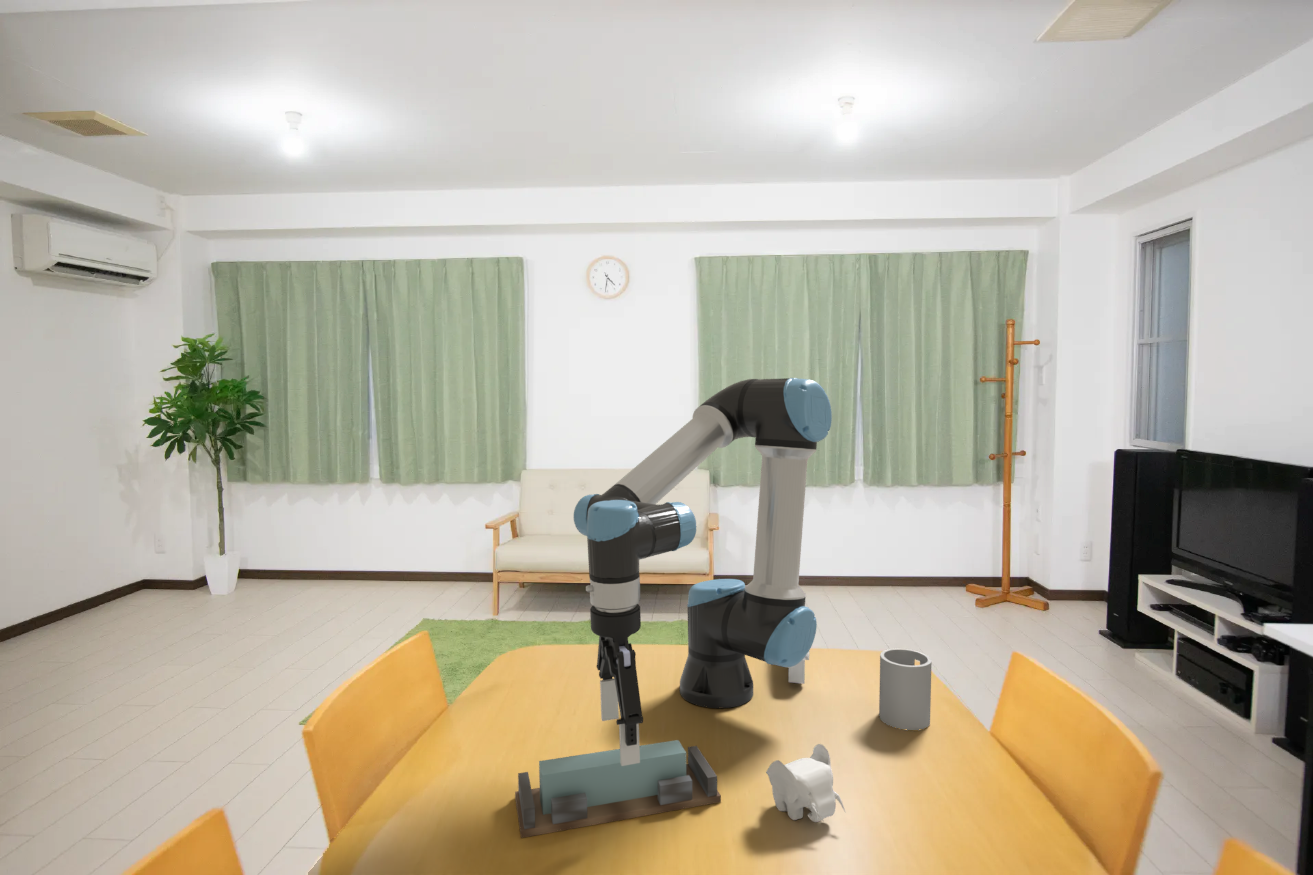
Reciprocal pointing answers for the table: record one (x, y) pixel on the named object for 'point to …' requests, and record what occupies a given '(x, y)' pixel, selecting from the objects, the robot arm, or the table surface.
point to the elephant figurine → (805, 786)
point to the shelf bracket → (798, 671)
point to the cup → (905, 689)
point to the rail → (610, 774)
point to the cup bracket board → (575, 813)
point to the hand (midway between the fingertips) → (619, 739)
